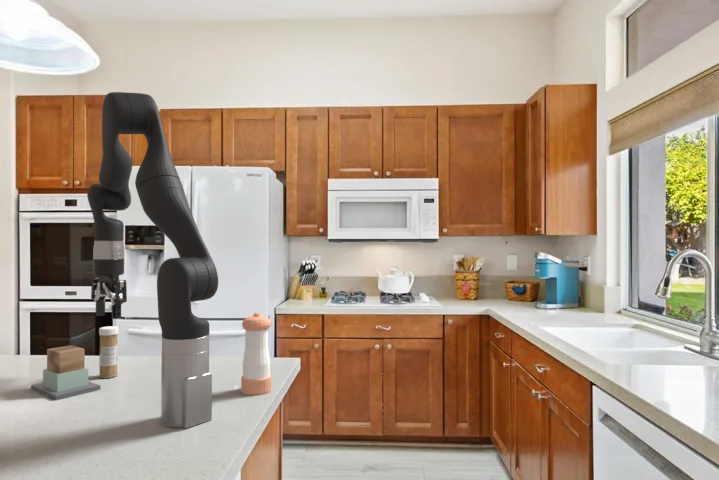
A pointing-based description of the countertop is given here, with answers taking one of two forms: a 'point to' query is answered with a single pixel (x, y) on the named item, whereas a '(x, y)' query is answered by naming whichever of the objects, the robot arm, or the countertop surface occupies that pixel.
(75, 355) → the walnut brick
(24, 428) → the countertop surface
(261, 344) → the salt shaker
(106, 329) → the sprinkles bottle
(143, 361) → the countertop surface
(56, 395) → the build plate
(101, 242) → the robot arm
